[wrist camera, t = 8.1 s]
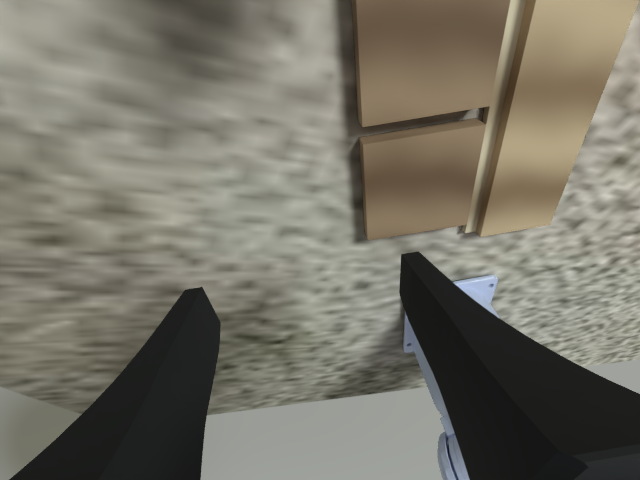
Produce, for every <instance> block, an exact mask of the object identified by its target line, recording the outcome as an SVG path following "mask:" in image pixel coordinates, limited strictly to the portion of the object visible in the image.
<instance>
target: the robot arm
mask: <svg viewBox="0 0 640 480" xmlns="http://www.w3.org/2000/svg"><path fill="white" fill-rule="evenodd" d="M497 281H498V279H497V277H496V276H495V275H488V276H482V277H477V278H471V279H465V280H460V281H454V282H452V281H451V280H450V279H448V278H447V277H446V276H445V275H444V274H443V273H442V272H440V271H439V270H438V269H437V268H436V267H435V266H434V265H433V264H432V263H431V262H429V261H428V260H427V259H426V258H425V257H424V256H423V255H422V254H421V253H419V252H413V253H407V254H401V273H400V296H401V300H402V303H403V306H404V309H405V322H404V340H403V350H404V352H405V353H410V352H414V353H415V355H416V358H417V361H418V363H419V366H420V368H421V371H422V373H423V376H424V379H425V381H426V384H427V386H428V389H429V391H430V394H431V397H432V399H433V401H434V404H435V406H436V408H437V410H438V411H439V412H440V414H441V415H442V416H443V417H441V422H442V424H443V427H444V430H445V432H443V433H442V434H441V435H440V437H439V441H438V462H439V467H440V471H441V475H442V478H443V480H640V394H638V393H636V392H634V391H632V390H629V389H627V388H625V387H623V386H620V385H618V384H616V383H614V382H612V381H609V380H607V379H605V378H603V377H601V376H599V375H597V374H595V373H593V372H591V371H589V370H587V369H585V368H583V367H581V366H579V365H577V364H575V363H573V362H571V361H570V360H568V359H566V358H564V357H562V356H560V355H559V354H557V353H555V352H553V351H552V350H550V349H548V348H546V347H544V346H543V345H541V344H539V343H537V342H536V341H534V340H532V339H531V338H529V337H527V336H526V335H524V334H522V333H521V332H519V331H518V330H516V329H515V328H513V327H512V326H510V325H508V324H507V323H505V322H504V321H502V320H501V319H500V318H499V316H498V315H497V313H496V312H495V310H494V309H493V308H492V306H491V305H490V303H491V300H492V297H493V294H494V291H495V288H496V284H497ZM219 342H220V321H219V319H218V317H217V315H216V313H215V311H214V309H213V307H212V305H211V303H210V301H209V299H208V297H207V295H206V293H205V292H204V290H203V288H202V287H200V288H194V289H188V290H185V291H184V292H183V294H182V295H181V296H180V298H179V299H178V300H177V302H176V303H175V304H174V306H173V307H172V309H171V310H170V311H169V313H168V314H167V315H166V317H165V318H164V319H163V321H162V322H161V324H160V325H159V326H158V328H157V329H156V330H155V332H154V333H153V334H152V336H151V337H150V338H149V339H148V341H147V342H146V343H145V345H144V346H143V347H142V348H141V350H140V351H139V352H138V353H137V354H136V356H135V357H134V358H133V359H132V361H131V362H130V363H129V364H128V365H127V367H126V368H125V369H124V370H123V371H122V373H121V374H120V375H119V376H118V377H117V378H116V379H115V381H114V382H113V383H112V384H111V385H110V386H109V387H108V388H107V389H106V390H105V391H104V392H103V393H102V395H101V396H100V397H99V398H98V399H97V400H96V401H95V402H94V403H93V404H92V405H91V406H90V407H89V408H88V409H87V410H86V411H85V412H84V413H83V414H82V415H81V416H80V417H79V418H78V419H77V420H76V421H75V422H73V423H72V424H71V425H70V426H69V427H68V428H67V429H66V430H65V431H64V432H63V433H62V434H61V435H60V436H59V437H58V438H57V439H56V440H55V441H54V442H52V443H51V444H50V445H49V446H48V447H47V448H46V449H45V450H43V451H42V452H41V453H40V454H39V455H38V456H37V457H36V458H34V459H33V460H32V461H31V462H30V463H29V464H27V465H26V466H25V467H24V468H23V469H22V470H20V471H19V472H18V473H17V474H16V475H14V476H13V477H12V478H11V479H10V480H200V477H201V463H202V451H203V439H204V430H205V422H206V416H207V410H208V405H209V400H210V394H211V389H212V384H213V379H214V374H215V369H216V363H217V358H218V352H219Z"/></svg>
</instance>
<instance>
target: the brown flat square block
mask: <svg viewBox="0 0 640 480" xmlns="http://www.w3.org/2000/svg"><path fill="white" fill-rule="evenodd" d="M485 128H486V124H484V123H483V122H481V121H480V120H478V119H476V118H474V119H468V120H462V121H455V122H449V123H443V124H437V125H431V126H425V127H419V128H413V129H406V130H400V131H394V132H388V133H382V134H376V135H370V136H364V137H359V143H360V161H361V179H362V196H363V214H364V231H365V234H366V237H367V240H374V239H380V238H386V237H392V236H399V235H405V234H411V233H418V232H424V231H430V230H437V229H443V228H449V227H456V226H462V225H467V220H468V215H469V210H470V205H471V200H472V194H473V189H474V184H475V179H476V174H477V169H478V164H479V159H480V153H481V148H482V143H483V138H484V133H485Z"/></svg>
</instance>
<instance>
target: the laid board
mask: <svg viewBox="0 0 640 480" xmlns="http://www.w3.org/2000/svg"><path fill="white" fill-rule="evenodd" d="M638 2H639V0H510V5H509V11H508V16H507V21H506V26H505V31H504V36H503V41H502V47H501V52H500V57H499V62H498V67H497V72H496V77H495V82H494V88H493V93H492V98H491V103H490V106H488V107H485V108H484V113H483V119H482V122H483V123H484V124H486V128H485V133H484V138H483V143H482V148H481V153H480V159H479V164H478V169H477V174H476V179H475V184H474V189H473V194H472V200H471V205H470V210H469V215H468V220H467V225H463V227H462V230H463V231H464V232H465V233H469V232H475V231H476V233H477V234H478V235H479V236H480V237H483V236H489V235H495V234H500V233H506V232H512V231H517V230H523V229H529V228H535V227H540V226H546V225H550V223H551V221H552V218H553V216H554V213H555V211H556V208H557V206H558V203H559V201H560V198H561V196H562V193H563V191H564V188H565V186H566V183H567V181H568V178H569V176H570V173H571V170H572V168H573V165H574V163H575V160H576V158H577V155H578V153H579V150H580V148H581V145H582V143H583V140H584V138H585V135H586V133H587V130H588V128H589V125H590V123H591V120H592V118H593V115H594V113H595V110H596V108H597V105H598V103H599V100H600V98H601V95H602V93H603V90H604V88H605V85H606V83H607V80H608V78H609V75H610V73H611V70H612V68H613V65H614V63H615V60H616V58H617V55H618V53H619V50H620V48H621V45H622V43H623V40H624V38H625V35H626V33H627V30H628V28H629V25H630V23H631V20H632V17H633V15H634V12H635V10H636V7H637V5H638Z"/></svg>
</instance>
